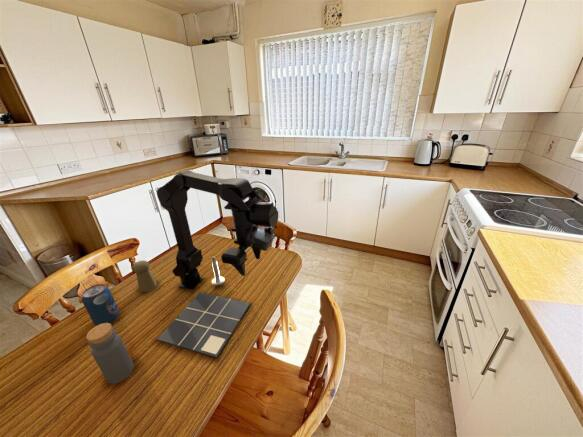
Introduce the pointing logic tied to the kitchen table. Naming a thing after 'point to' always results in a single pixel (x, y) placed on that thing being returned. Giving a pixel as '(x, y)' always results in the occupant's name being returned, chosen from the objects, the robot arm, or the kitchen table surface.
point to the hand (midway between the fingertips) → (251, 266)
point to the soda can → (100, 304)
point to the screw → (217, 274)
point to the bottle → (110, 353)
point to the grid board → (205, 324)
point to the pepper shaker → (144, 276)
